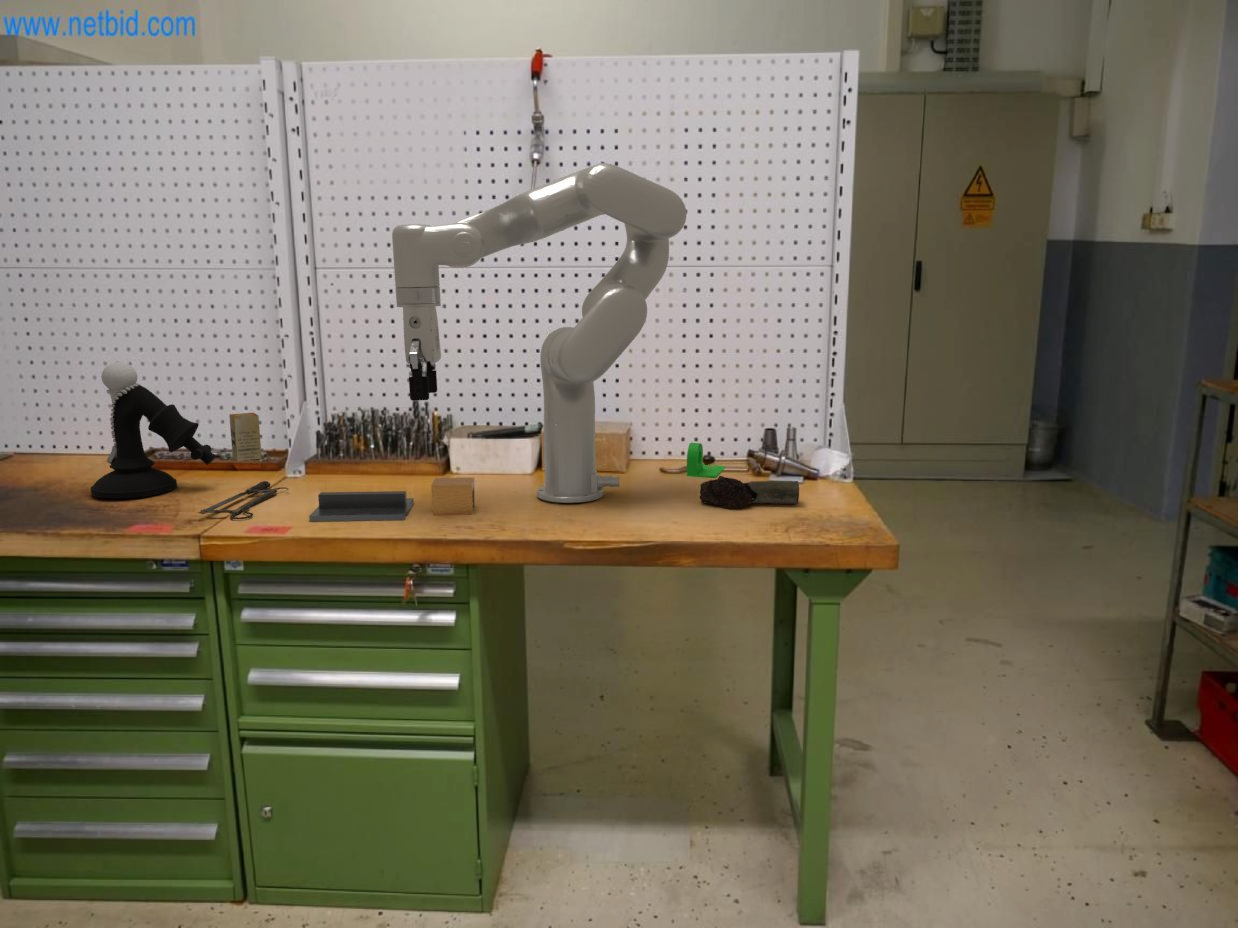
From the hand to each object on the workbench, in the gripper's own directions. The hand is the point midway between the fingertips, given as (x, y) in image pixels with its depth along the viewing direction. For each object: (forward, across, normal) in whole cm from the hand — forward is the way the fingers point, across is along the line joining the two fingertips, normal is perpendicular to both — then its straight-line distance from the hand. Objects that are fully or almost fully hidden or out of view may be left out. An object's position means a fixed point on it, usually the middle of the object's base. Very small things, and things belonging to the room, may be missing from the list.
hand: (424, 396), depth 168 cm
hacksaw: (+20, +6, +38) cm, 44 cm away
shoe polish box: (+20, +36, +45) cm, 61 cm away
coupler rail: (+20, -2, +12) cm, 23 cm away
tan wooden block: (+21, -2, -4) cm, 21 cm away
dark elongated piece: (+24, -2, -63) cm, 68 cm away
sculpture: (+20, +18, +56) cm, 62 cm away
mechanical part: (+22, +24, -54) cm, 63 cm away
